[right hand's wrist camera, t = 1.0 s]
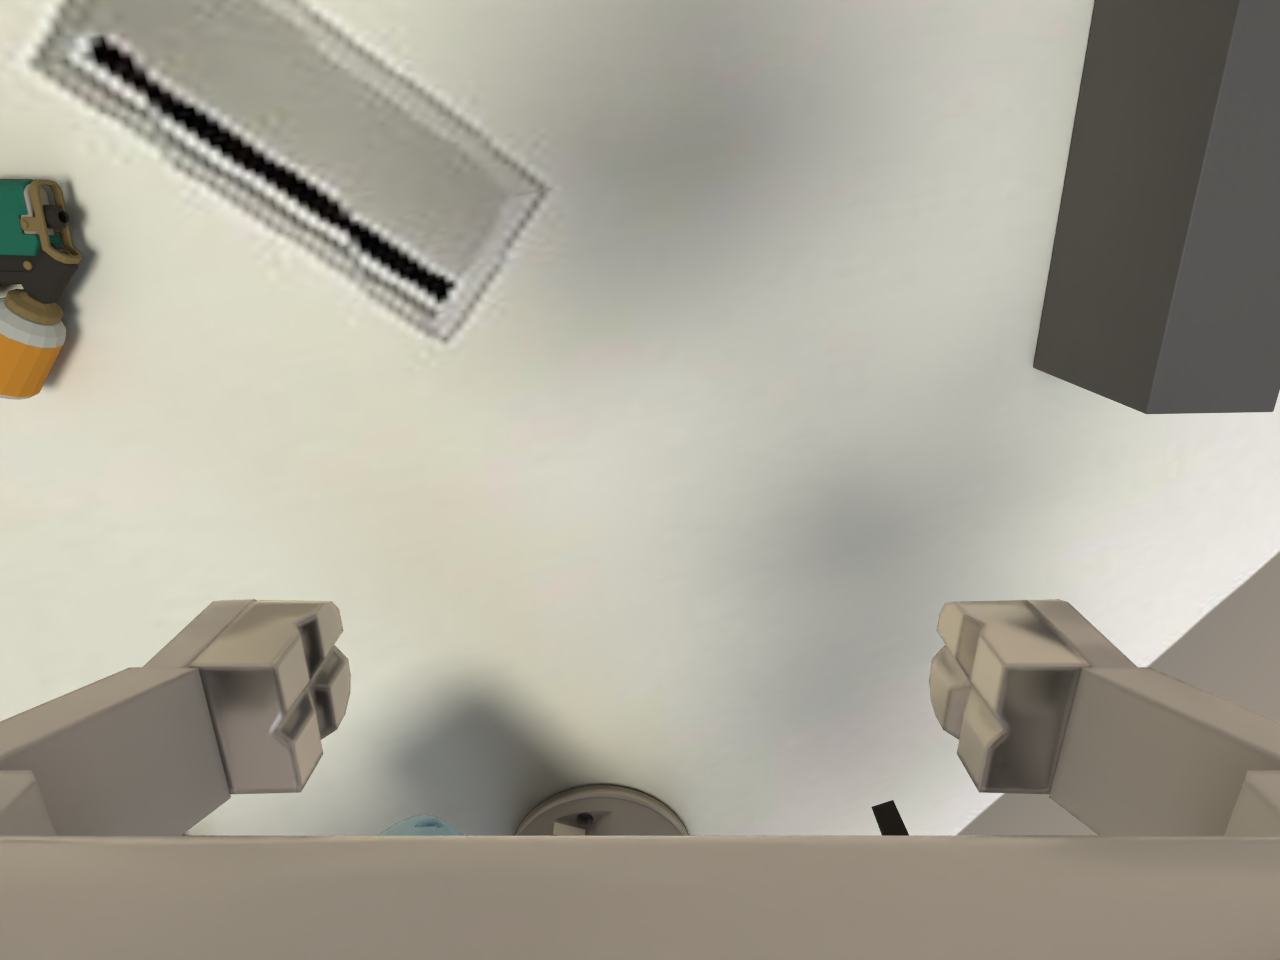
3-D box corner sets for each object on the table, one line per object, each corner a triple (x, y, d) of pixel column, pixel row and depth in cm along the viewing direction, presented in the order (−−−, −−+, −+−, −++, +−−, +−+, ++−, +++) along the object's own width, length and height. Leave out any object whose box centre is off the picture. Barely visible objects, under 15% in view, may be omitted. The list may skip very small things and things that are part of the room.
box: (1101, -41, 41) (1269, -130, 30) (1220, -43, 41) (1431, -134, 30) (1032, 368, 48) (1145, 414, 38) (1132, 366, 48) (1274, 412, 38)
